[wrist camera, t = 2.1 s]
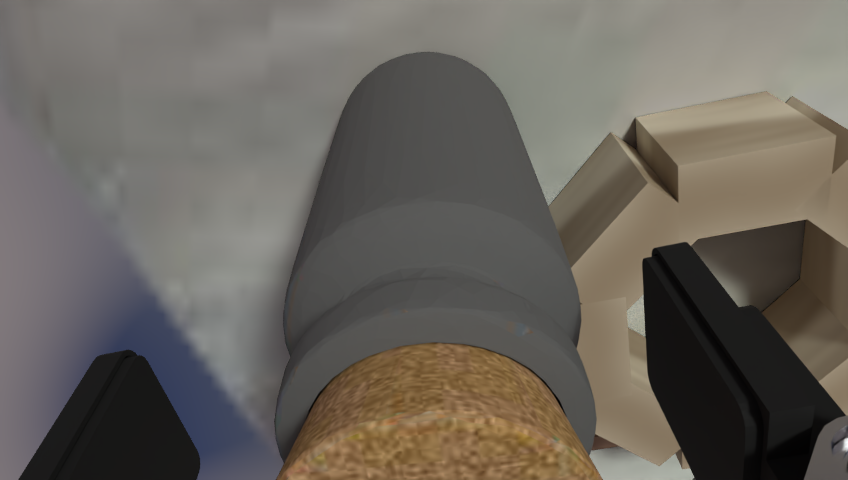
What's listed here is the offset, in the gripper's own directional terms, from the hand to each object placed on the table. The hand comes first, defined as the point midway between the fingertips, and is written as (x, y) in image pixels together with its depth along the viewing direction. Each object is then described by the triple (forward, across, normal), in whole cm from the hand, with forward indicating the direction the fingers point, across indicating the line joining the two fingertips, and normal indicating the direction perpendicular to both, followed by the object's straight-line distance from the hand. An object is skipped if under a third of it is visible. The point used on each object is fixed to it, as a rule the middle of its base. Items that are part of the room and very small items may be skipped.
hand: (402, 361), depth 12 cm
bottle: (+11, -1, 0) cm, 11 cm away
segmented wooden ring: (+11, -10, +7) cm, 16 cm away
